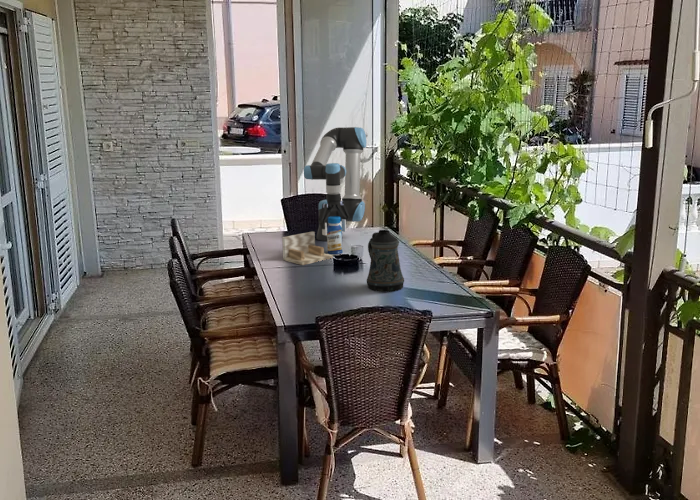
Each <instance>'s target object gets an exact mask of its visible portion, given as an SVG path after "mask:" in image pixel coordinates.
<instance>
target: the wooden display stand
mask: <svg viewBox="0 0 700 500" xmlns="http://www.w3.org/2000/svg"><path fill="white" fill-rule="evenodd" d="M315 233H316V232H315V231H309V232H303V233H297V234H292V235H288V236H287V235H286V236H282V237H281V241H282V242H281V243H282V260H283V261H286V262H289V263H292V264H297V265H300V266H305V265H309V264H313V263H317V262H318V261H319V262H321V261H322V260H323V261H326V259H327V260H331V259H333V255H329V254H328V253H325V249H324V248H325V247H323V246H318V245H316V238H315V237H316V234H315ZM330 258H331V259H330ZM323 261H322V262H323ZM319 262H318V263H319Z"/></svg>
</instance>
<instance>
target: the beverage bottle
mask: <svg viewBox="0 0 700 500" xmlns="http://www.w3.org/2000/svg"><path fill="white" fill-rule="evenodd" d="M328 224H329V225H328V227H327V241H326V243H327V247H326V248H327V251H326V252H327V253H326V254H329V255H333V256H334V255H336V256H340V255H339V254H341V255H343V253H344V252H343V231H342V225H341V218H340V217H339V216H330V217H328Z"/></svg>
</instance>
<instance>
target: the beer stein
mask: <svg viewBox="0 0 700 500" xmlns="http://www.w3.org/2000/svg"><path fill="white" fill-rule="evenodd" d="M398 246H400V241H399V240H398V238H397V237H396V236H394V235H393V234H391V233H390V231H389V230H387V229H380V230H378V232H374V233H372V235H371V237H370V238H369V242H368V244H367V251H368V255H369V258H370V264H369V270H368V274H367V278H366V285H367V288H368V290H370V291H374V292H378V293H391V292H397V291H402V289H403V288H404V283H405V278H404V275H403V272H402V269H401V263H400V257H399V248H398Z"/></svg>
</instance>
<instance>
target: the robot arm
mask: <svg viewBox="0 0 700 500" xmlns="http://www.w3.org/2000/svg"><path fill="white" fill-rule="evenodd" d="M365 148H367V136H366V132H365V130H364V128H363V127H359V126H358V127H356V126H352V127H335V128H334V127H333V128H332V129H330V130H329V131H327V132H326V133H325V134H324V135H323V136H322V138H321V139H320V143H319V148H318V149H317V152H316V153H315V156H314V158H313V160H312V162H311V164H308V165H305V166H304V168H303V176H304V178H305V179H306V180H311V181H313V180H322V181H323V180H325V192H326V199H323V200H320V201H319V203H318V209H317V210H318V219H317V222H318V229H317V233H316V240H318V241H323V242H327V227H328V225H329V224H328V217H330V216H339V217H340V218H341V222H340V224H341V227H342V233H343V232H345V233H346V232H347V225H348V223H347V222H352V223H353V222H361V221H362V220H363V217H364V215H365V210H366V204H365V202H364V201H363V198H362V197H361V195H360V189H361V188H360V187H361V186H360V185H361V181H360V180H361V154H362V153H363V152H364V149H365ZM336 149H342V151H343V153H344V154H345V162H344V163H345V166H344V165H341V164H340V163H337V162H336V163H335V162H332V163H331V162H330V163H328V162H329V159H330V158H331V155H332V153H333V151H335V150H336ZM343 178H344V195H343V196H341V195H342V194H341V192H342V191H341V189H342V188H341V187H342V186H341V180H342V179H343Z"/></svg>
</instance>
